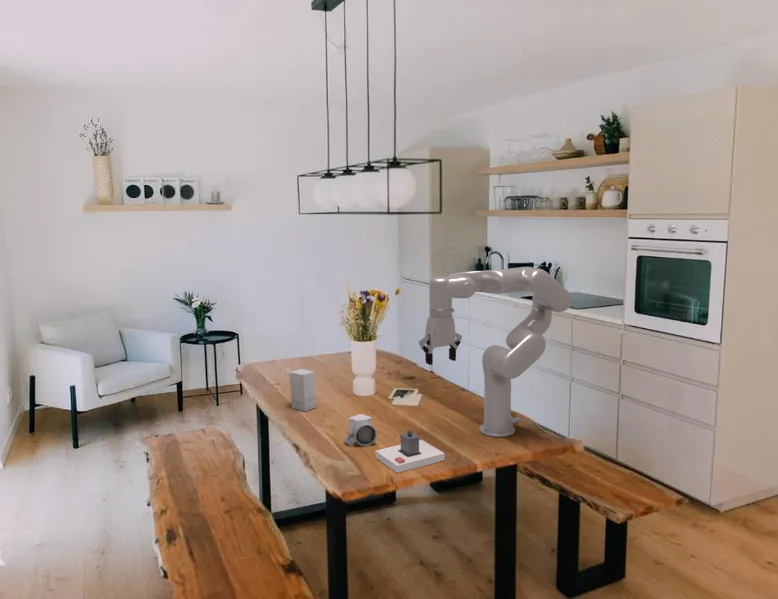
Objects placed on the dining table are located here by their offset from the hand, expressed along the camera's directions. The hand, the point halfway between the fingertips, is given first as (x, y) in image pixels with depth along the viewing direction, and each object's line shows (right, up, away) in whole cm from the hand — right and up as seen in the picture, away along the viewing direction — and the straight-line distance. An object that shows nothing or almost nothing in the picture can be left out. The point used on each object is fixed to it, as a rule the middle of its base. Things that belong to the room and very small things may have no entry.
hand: (440, 362), depth 219 cm
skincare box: (-53, -23, +40) cm, 70 cm away
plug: (-11, -31, -11) cm, 34 cm away
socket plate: (-11, -31, -11) cm, 34 cm away
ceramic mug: (-28, -29, +3) cm, 40 cm away
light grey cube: (-28, -27, +12) cm, 41 cm away
